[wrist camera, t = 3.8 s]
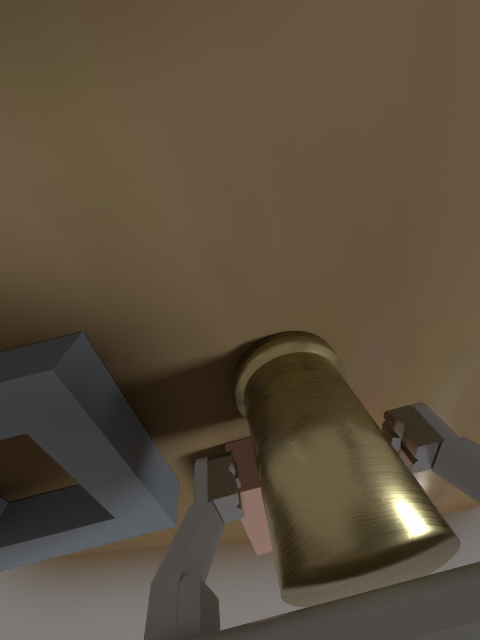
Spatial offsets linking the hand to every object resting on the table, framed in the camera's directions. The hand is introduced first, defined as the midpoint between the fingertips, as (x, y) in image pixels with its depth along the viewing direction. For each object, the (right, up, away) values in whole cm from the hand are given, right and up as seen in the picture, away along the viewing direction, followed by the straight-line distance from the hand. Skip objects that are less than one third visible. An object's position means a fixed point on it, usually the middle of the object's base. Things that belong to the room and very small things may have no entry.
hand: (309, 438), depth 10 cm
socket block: (-15, -3, +4) cm, 15 cm away
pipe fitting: (0, +2, +3) cm, 4 cm away
